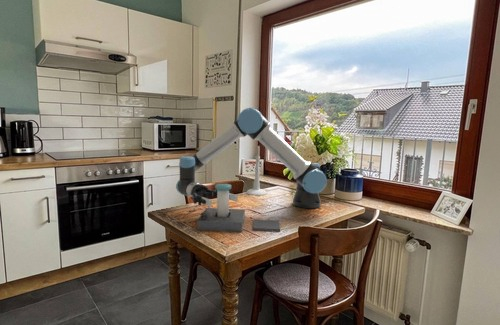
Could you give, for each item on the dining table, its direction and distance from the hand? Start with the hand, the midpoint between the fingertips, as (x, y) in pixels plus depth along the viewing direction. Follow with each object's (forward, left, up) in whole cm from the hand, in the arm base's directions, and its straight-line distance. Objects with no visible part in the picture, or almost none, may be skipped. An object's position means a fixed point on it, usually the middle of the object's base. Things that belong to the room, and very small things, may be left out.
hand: (224, 201), depth 126 cm
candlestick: (-12, -59, -11) cm, 61 cm away
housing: (+1, -1, -10) cm, 10 cm away
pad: (-18, 0, -10) cm, 21 cm away
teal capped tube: (+1, -1, -10) cm, 10 cm away
